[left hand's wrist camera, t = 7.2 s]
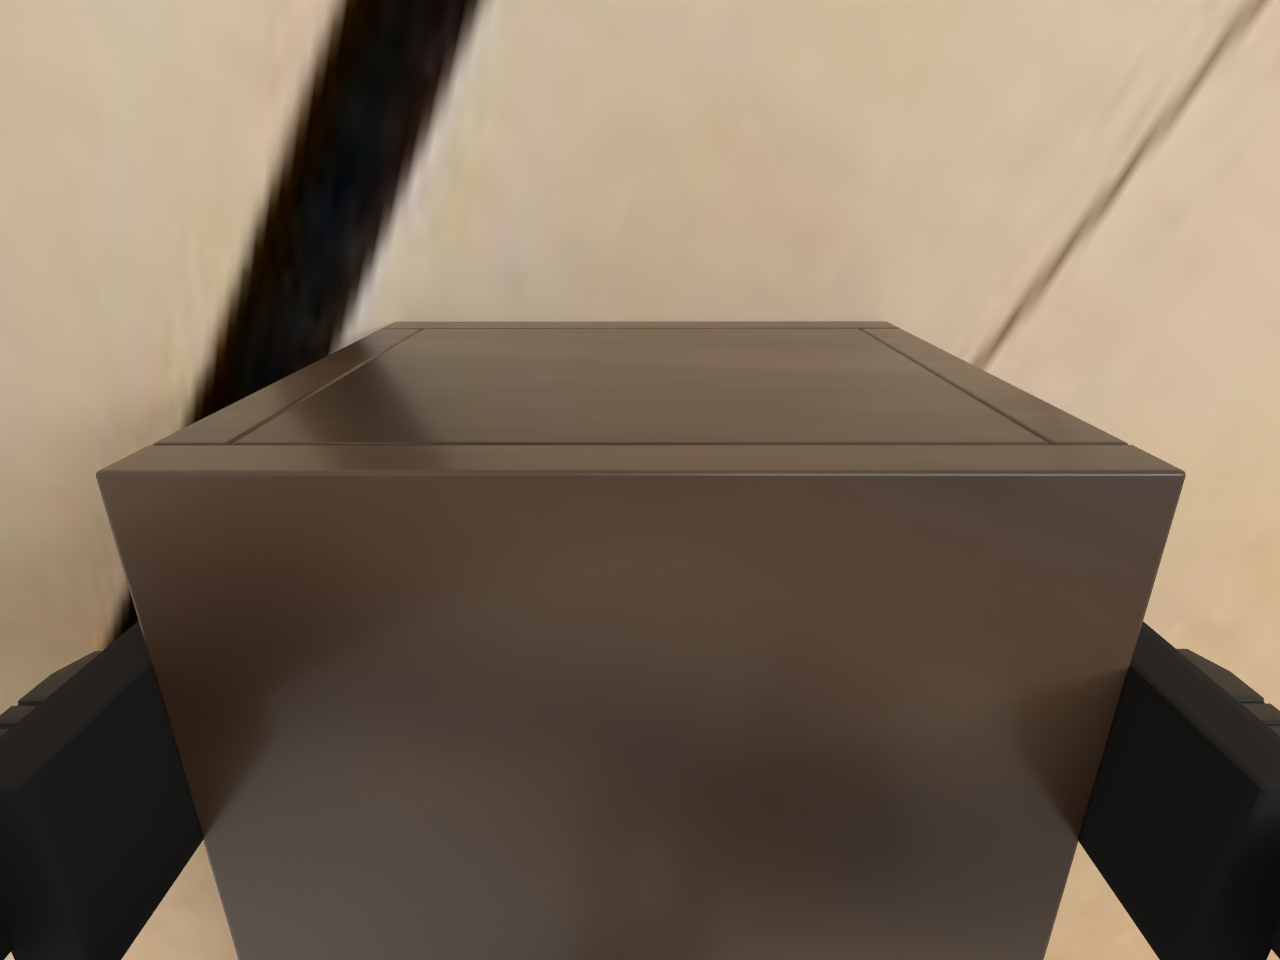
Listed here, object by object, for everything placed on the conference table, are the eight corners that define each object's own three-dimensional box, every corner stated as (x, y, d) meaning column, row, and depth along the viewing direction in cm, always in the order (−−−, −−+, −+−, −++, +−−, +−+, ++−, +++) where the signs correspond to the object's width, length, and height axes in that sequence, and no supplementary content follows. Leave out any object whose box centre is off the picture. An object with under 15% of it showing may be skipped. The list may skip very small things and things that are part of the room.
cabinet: (808, 971, 24) (907, 1427, 15) (473, 970, 24) (375, 1426, 15) (888, 321, 16) (1190, 471, 7) (393, 321, 17) (91, 472, 7)
